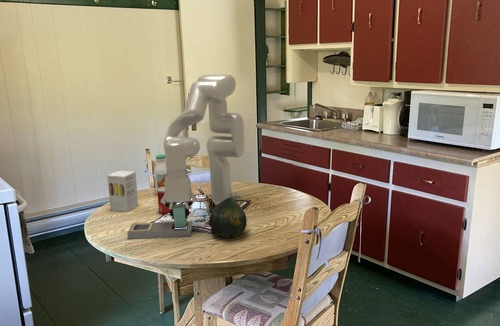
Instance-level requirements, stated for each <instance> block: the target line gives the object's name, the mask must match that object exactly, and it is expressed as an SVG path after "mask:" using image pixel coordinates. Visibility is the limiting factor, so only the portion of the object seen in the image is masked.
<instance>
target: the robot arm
mask: <svg viewBox="0 0 500 326" xmlns="http://www.w3.org/2000/svg"><path fill="white" fill-rule="evenodd" d="M236 84H237V82H236V78H235V77H234V76H232V75H231V74H203V75H201V76H198V78H197V80H196V81H195V82H193V83H192V84H191V85H190V88H189V92H188V95H187V98H186V103H185V106H184V110H183V112H182V113H180V114H179V115H178V116H177V117H176V118H174V120H173V121H172V122H171V123H170V124H169V126H168V128H167V130H166V134H165V137H164V141H163V150H164V155H165V162H166V171H167V176H166V177H165V194H164V196H163V197H162V199H161V201H160V202H161V203H163V204H164V205H166V206H167V207H168V208H169V209H170V217H171V218H172V220H174V216H173V207H174V206H173V202H176V203H183V204H185V217H186V218H187V219H188V217H189V216H190V207H191V206H192V205H193V204H195V203H196V201H197V202H198V198H197V197H196V195H195V194H194V193H193V191H192V185H191V184H192V183H191V179H190V176H189V174H191V169H187V162H186V158H190V157H194V156H197V154H198V153H199V152H200V149H201V144H200V141H199V140H198V139H197V138H194V137H190V136H188V137H187V136H179V135H180V134H181V132H183V131H184V129H186V128H189V127H190V126H192V125H195V124H198V123H200V122H202V121H203V119H204V118H205V115H206V111H207V107H208V124H209V130H210V132H212V133H215V134H226V135H227V134H228V135H227V136H225V135H214V136H211V137H209V138H208V139H207V141H206V150H207V155H208V159H209V160H208V161H209V175H210V195H211V197H209V198H212V200H213V201H214V204H215V205H214V206H217V205H218V204H219V203H220V202H222V201H224V200H225V199H227V198H231V197H233V199H235V198H237V199H239V198H240V199H241V198H242V197H241V195H242V194H241V193H239V192H233V191H232V181H231V179H232V177H231V176H232V175H231V164H230V161H229V160H228V158H240V157H242V156H243V154H244V153H245V152H244V151H245V125H244V124H245V123H244V118H243V116H242V115H241V114H240V113H237V112H228V102H227V98H228V97H229V96H231V95H232V94H234V92H235V90H236V88H237V87H236V86H237V85H236ZM229 135H231V136H229ZM165 200H166V201H165ZM235 200H236V199H235ZM169 202H170V203H169Z"/></svg>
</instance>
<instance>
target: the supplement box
mask: <svg viewBox="0 0 500 326" xmlns="http://www.w3.org/2000/svg"><path fill="white" fill-rule="evenodd" d="M136 175H137V174H136V171H129V170H126V171H125V170H117V171H115V172H113V173H109V174H107V186H108V196H109V206H110V211H112V212H113V211H115V212H124V213H128V212H130V211H132V210H134V209H135V208H137V207H138V206H139V197H138V186H137V185H138V184H137V176H136Z"/></svg>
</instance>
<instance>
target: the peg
mask: <svg viewBox="0 0 500 326" xmlns="http://www.w3.org/2000/svg"><path fill="white" fill-rule="evenodd" d="M173 216H174V219H173V222H174V227H175V228H179V227H186V225H187V221H188V218H186V217H185V203H182V204H181V203H180V204H177V203H176V205H174V207H173Z"/></svg>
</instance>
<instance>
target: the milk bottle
mask: <svg viewBox="0 0 500 326" xmlns="http://www.w3.org/2000/svg"><path fill="white" fill-rule="evenodd" d="M155 159H156V164H155V167H154V173H153V175H154V188H155V190H154V191H155V194H156V195H157V196H158V194H157V189H158V188H160V187H165V177H166V176H167V171H166V159H165V154H157V155H155Z"/></svg>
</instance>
